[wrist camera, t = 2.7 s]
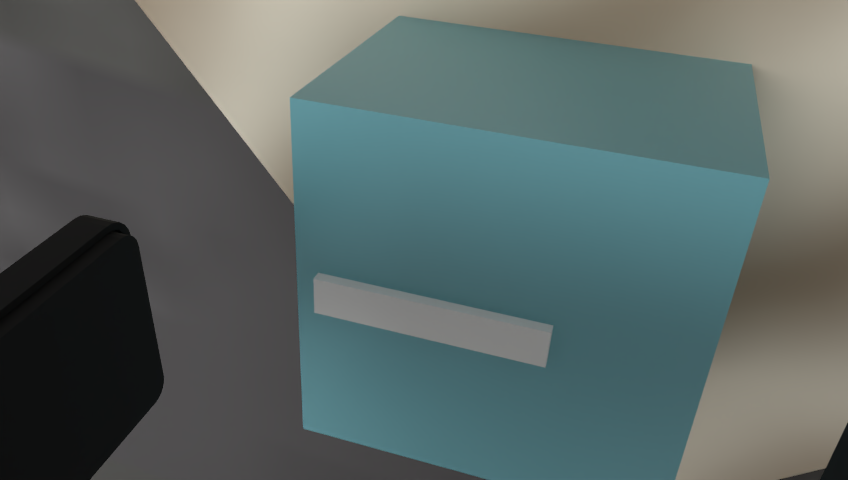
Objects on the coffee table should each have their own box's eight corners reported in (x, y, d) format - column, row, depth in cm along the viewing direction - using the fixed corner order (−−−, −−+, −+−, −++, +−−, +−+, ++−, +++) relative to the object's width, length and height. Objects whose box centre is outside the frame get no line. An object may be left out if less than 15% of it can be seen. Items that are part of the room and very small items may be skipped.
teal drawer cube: (751, 64, 14) (770, 185, 10) (671, 354, 18) (660, 536, 13) (398, 15, 16) (284, 101, 11) (389, 290, 19) (298, 435, 15)
